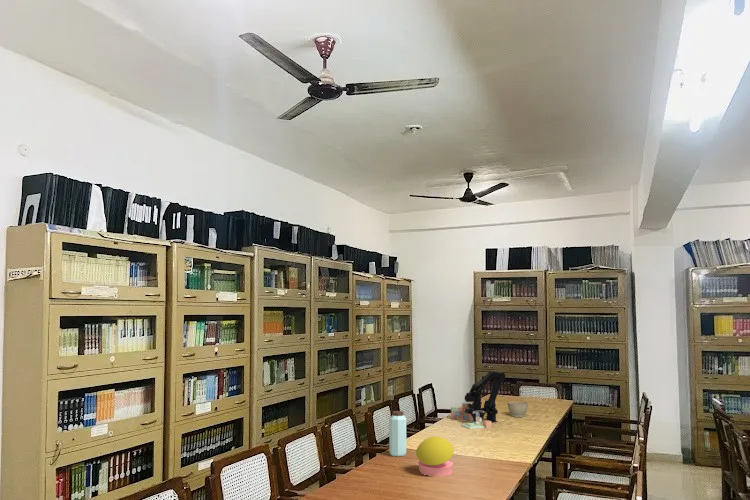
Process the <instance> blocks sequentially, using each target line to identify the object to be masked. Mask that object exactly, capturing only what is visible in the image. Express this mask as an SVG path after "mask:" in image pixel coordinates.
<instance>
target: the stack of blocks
mask: <svg viewBox="0 0 750 500" xmlns="http://www.w3.org/2000/svg"><path fill="white" fill-rule="evenodd" d="M469 403H471V404H472V403H473V402H462V403H461V406H456V405H455V406H453V405H451V406H450V419H451V420H460V421H461V420H462V421H463V420H469V421H471V420H472V421H473V417H472V415H471V414H468V413H465V409H469V408H468V404H469ZM475 413H476V417H480V414H479V412H475Z"/></svg>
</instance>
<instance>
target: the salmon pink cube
mask: <svg viewBox="0 0 750 500" xmlns="http://www.w3.org/2000/svg"><path fill="white" fill-rule="evenodd" d="M492 423H493V422H492V421H489V420H482V426H484V428H485V429H490V428H493V427H492Z"/></svg>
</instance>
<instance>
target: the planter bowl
mask: <svg viewBox="0 0 750 500" xmlns="http://www.w3.org/2000/svg"><path fill="white" fill-rule="evenodd" d="M528 405H529V403H528V402H526V401H517V400H515V401H513V400H511V401H507V408H508V409H507V410H508V411H509V413H510V414H511V416H512V417H514V418H524V417H525V414H526V413H527V410H528V409H529V408H528V407H529V406H528Z"/></svg>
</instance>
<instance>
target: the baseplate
mask: <svg viewBox="0 0 750 500" xmlns="http://www.w3.org/2000/svg"><path fill="white" fill-rule="evenodd" d="M461 427H463V428H465V429H468V430H473V429H474V430H477V429H484V428H485V427H484V426H483V424H477V423H473V422H465V423H461Z"/></svg>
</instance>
